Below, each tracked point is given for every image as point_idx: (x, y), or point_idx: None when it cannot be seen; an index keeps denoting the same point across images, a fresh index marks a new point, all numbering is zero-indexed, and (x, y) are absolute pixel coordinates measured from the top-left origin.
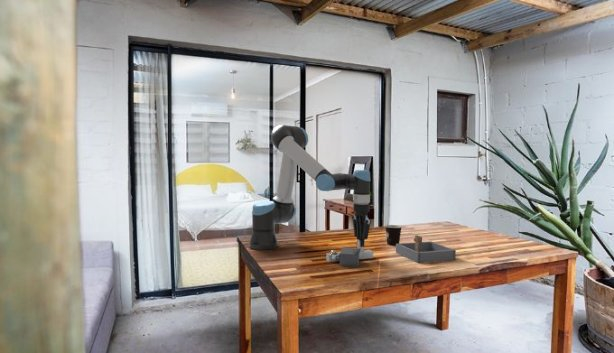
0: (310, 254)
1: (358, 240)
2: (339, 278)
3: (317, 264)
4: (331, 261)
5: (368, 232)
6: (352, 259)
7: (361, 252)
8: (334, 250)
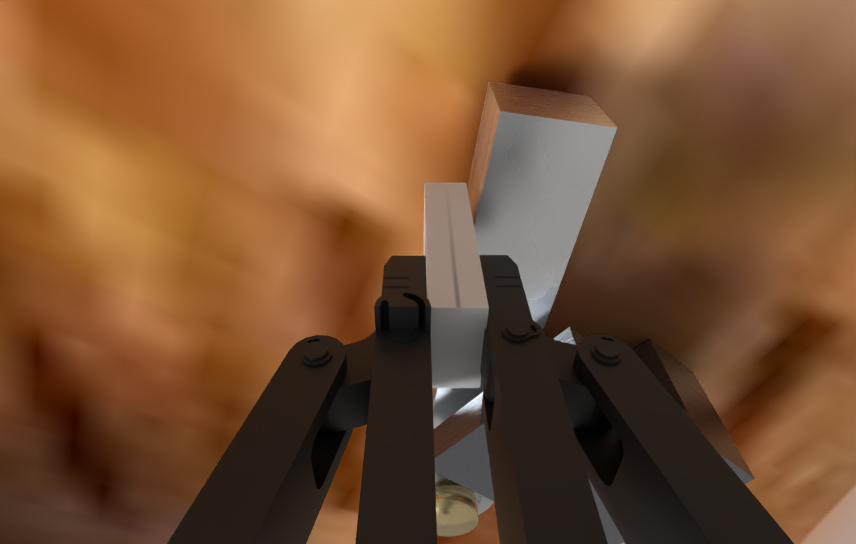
0: (182, 474)
1: (453, 376)
2: None
3: None
4: None
5: (732, 473)
6: None
7: (552, 293)
8: (437, 514)
